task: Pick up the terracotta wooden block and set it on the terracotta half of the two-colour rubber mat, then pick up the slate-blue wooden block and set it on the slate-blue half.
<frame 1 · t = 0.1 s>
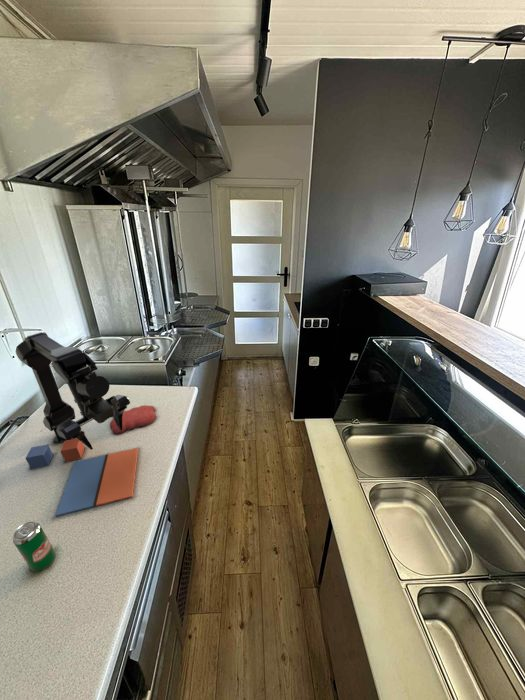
hand: (106, 439, 85), 15 cm above the countertop, tool pointing down, fingers open, 9 cm apart
red lumpy blob: (134, 419, 117), on the countertop
sorting mat: (101, 478, 91), on the countertop
slate-blue block: (42, 461, 98), on the countertop
soda can: (44, 561, 70), on the countertop
terracotta block: (75, 454, 100), on the countertop
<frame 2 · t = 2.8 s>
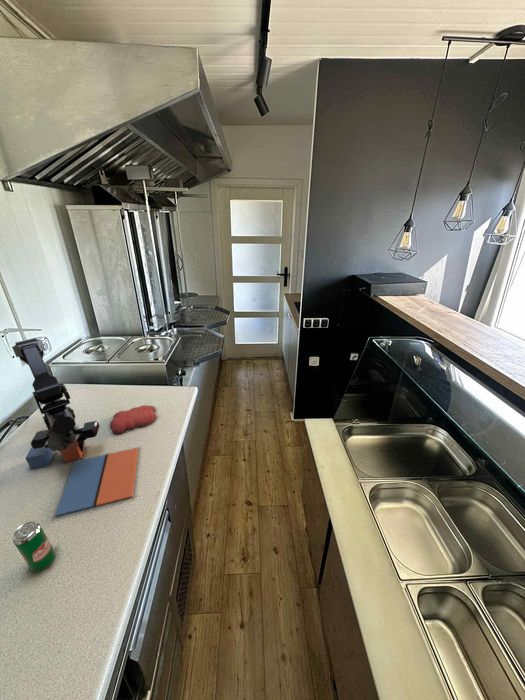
hand: (74, 452, 100), 1 cm above the countertop, tool pointing down, fingers closed on terracotta block, 5 cm apart
terracotta block: (75, 454, 100), on the countertop, touching gripper
everything else where it was.
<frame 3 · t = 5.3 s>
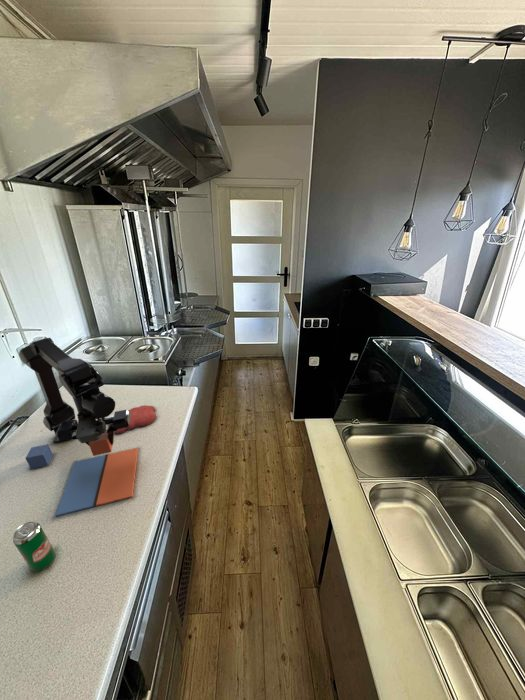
hand: (103, 445, 88), 11 cm above the countertop, tool pointing down, fingers closed on terracotta block, 5 cm apart
terracotta block: (103, 448, 88), point 11 cm above the countertop, touching gripper
everything else where it was.
when the fingers open (2 cm above the countertop, at t = 8.1 s): terracotta block stays where it is, resting on sorting mat.
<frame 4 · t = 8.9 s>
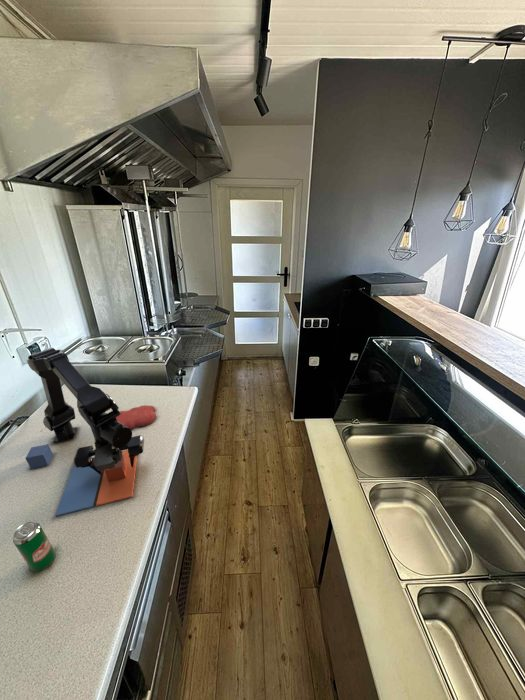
hand: (117, 469, 91), 2 cm above the countertop, tool pointing down, fingers open, 9 cm apart
terracotta block: (118, 473, 92), point 1 cm above the countertop, touching sorting mat
everything else where it was.
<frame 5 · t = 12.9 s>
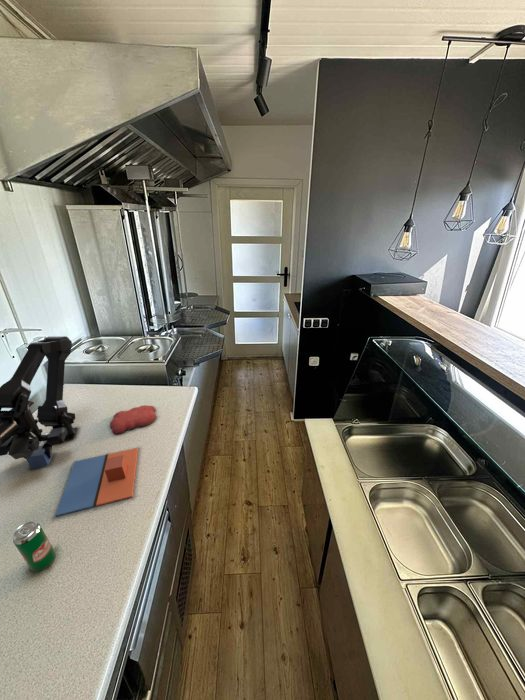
hand: (41, 459, 97), 1 cm above the countertop, tool pointing down, fingers closed on slate-blue block, 5 cm apart
slate-blue block: (42, 461, 98), on the countertop, touching gripper
everything else where it was.
when the fingers open (2 cm above the countertop, at t = 17.9 s): slate-blue block stays where it is, resting on sorting mat.
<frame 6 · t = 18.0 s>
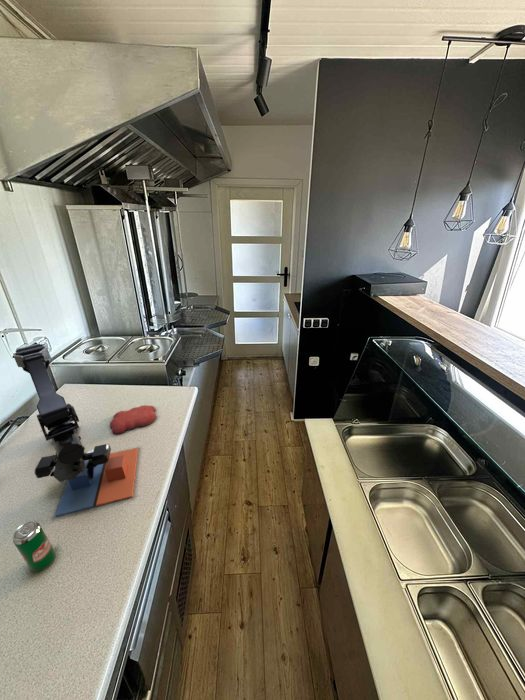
hand: (82, 479, 89), 2 cm above the countertop, tool pointing down, fingers open, 5 cm apart
slate-blue block: (83, 481, 89), point 1 cm above the countertop, touching sorting mat
everything else where it was.
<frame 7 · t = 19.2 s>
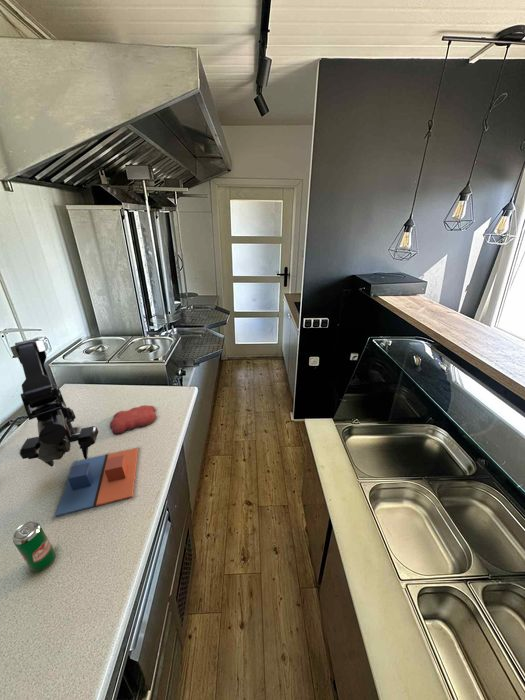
hand: (69, 461, 88), 7 cm above the countertop, tool pointing down, fingers open, 9 cm apart
nothing on the countertop moved.
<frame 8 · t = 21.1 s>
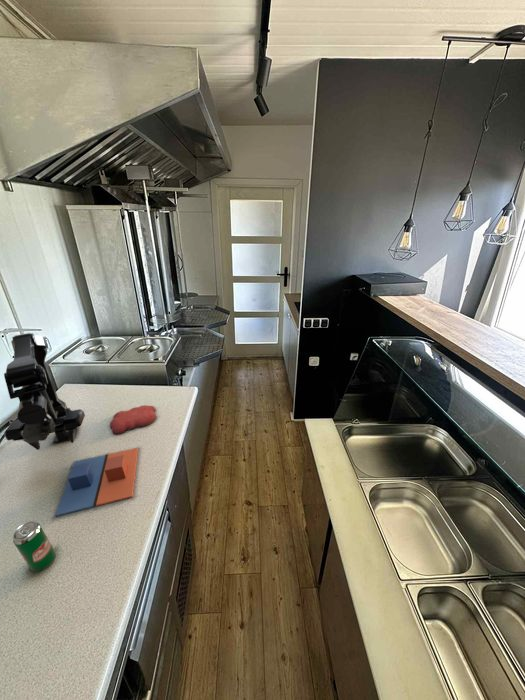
hand: (56, 445, 88), 12 cm above the countertop, tool pointing down, fingers open, 9 cm apart
nothing on the countertop moved.
at the end: terracotta block inside the target area (0.5 cm from its centre), point 0.6 cm above the countertop; slate-blue block inside the target area (0.2 cm from its centre), point 0.6 cm above the countertop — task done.
